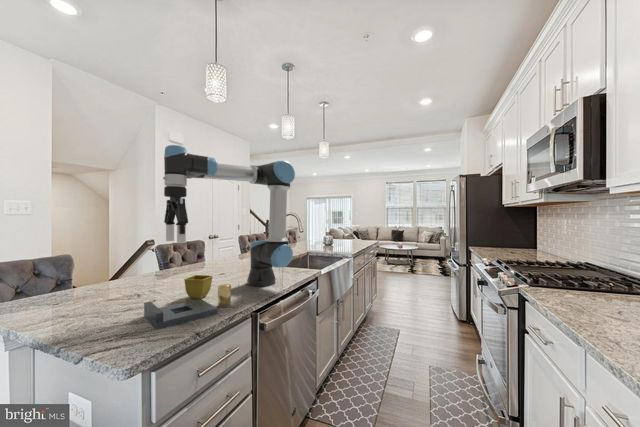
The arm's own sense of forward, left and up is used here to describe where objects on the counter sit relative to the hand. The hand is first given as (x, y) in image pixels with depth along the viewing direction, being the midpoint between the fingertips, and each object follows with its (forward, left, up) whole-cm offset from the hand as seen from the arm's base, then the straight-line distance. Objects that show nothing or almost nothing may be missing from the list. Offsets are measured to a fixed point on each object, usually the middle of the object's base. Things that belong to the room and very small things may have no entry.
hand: (175, 242), depth 102 cm
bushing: (-16, +7, -26) cm, 32 cm away
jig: (0, +6, -26) cm, 27 cm away
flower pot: (-13, -12, -27) cm, 32 cm away
